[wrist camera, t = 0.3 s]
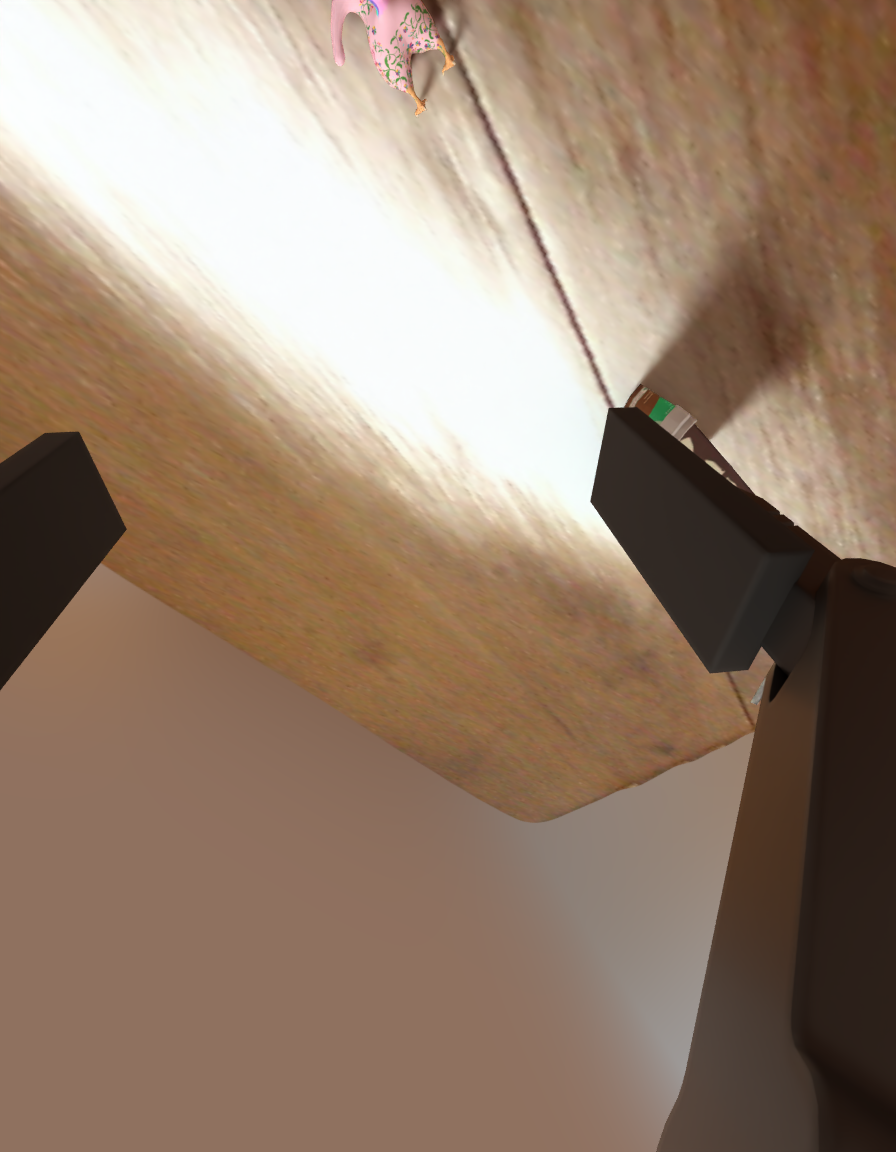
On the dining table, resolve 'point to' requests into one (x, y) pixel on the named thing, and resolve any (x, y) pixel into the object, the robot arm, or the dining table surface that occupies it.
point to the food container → (683, 431)
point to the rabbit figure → (391, 37)
